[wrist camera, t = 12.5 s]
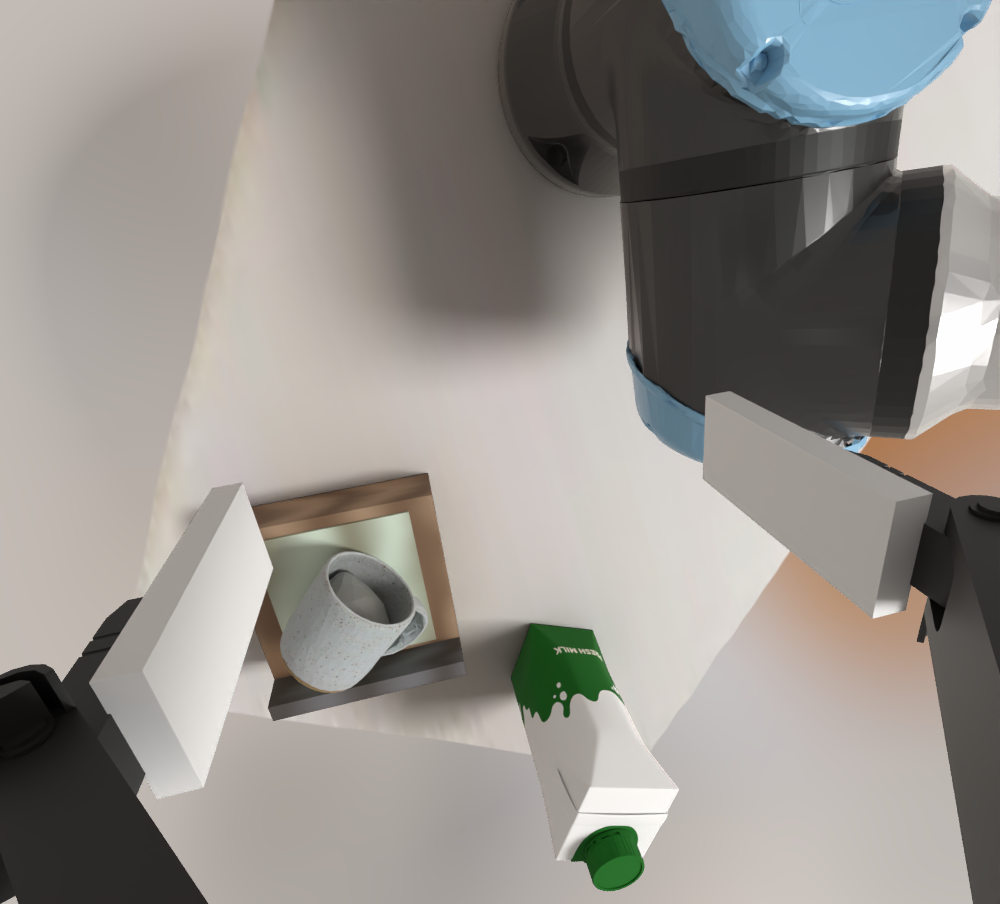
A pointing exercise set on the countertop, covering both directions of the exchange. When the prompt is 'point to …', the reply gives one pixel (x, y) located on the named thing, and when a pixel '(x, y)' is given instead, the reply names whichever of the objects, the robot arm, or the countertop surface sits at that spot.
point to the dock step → (373, 531)
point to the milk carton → (588, 756)
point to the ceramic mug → (349, 622)
